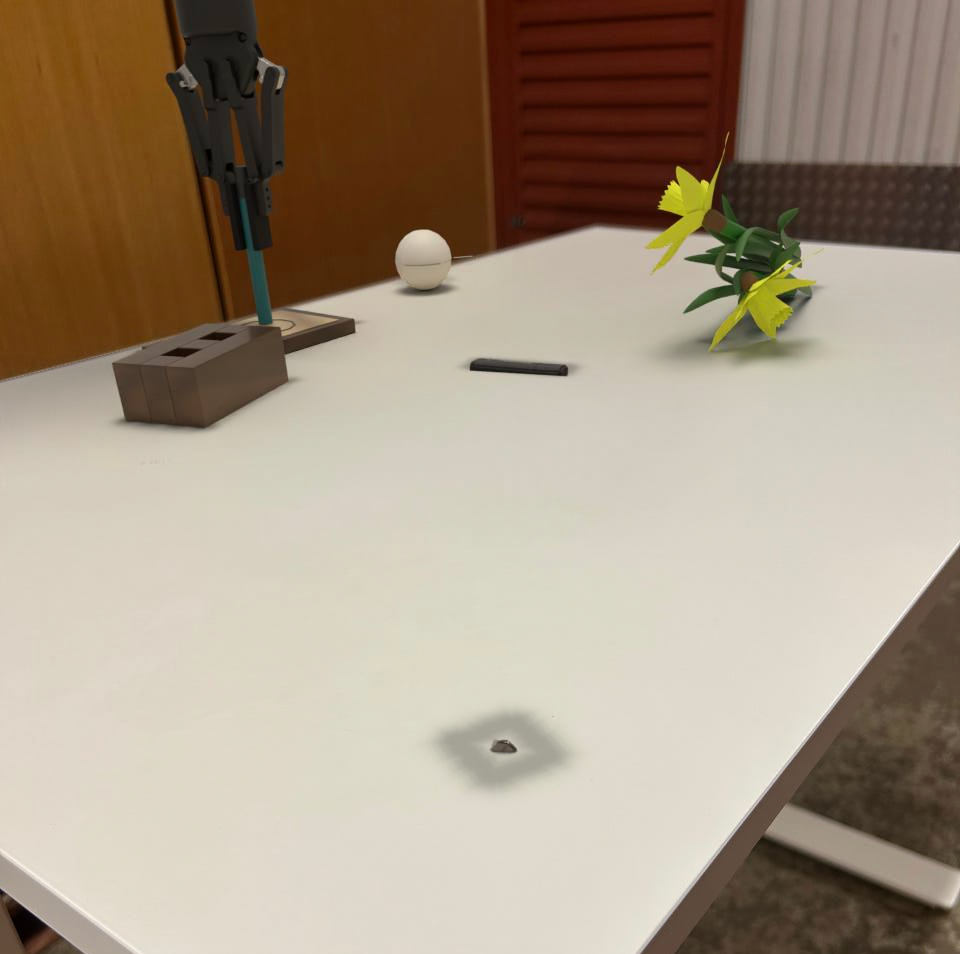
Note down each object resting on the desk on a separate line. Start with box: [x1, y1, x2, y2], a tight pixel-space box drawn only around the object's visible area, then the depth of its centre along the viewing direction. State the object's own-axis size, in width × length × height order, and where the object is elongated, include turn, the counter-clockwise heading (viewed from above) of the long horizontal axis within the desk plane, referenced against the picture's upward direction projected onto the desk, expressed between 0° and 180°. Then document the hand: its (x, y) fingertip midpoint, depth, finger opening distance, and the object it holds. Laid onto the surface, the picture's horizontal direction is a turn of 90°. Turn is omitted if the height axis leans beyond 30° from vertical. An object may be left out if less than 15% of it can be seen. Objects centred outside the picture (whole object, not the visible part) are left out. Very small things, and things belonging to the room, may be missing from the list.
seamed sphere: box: [394, 229, 473, 291], centre depth 128 cm, size 10×7×7 cm
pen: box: [233, 164, 273, 325], centre depth 107 cm, size 2×2×16 cm
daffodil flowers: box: [644, 131, 825, 352], centre depth 102 cm, size 17×15×35 cm
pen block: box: [111, 322, 290, 429], centre depth 88 cm, size 8×14×6 cm, turn 159°
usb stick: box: [469, 357, 569, 377], centre depth 93 cm, size 10×3×2 cm, turn 65°
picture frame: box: [141, 307, 357, 355], centre depth 109 cm, size 20×12×2 cm, turn 141°
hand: (254, 248), depth 107 cm, fingers closed on pen, 2 cm apart
